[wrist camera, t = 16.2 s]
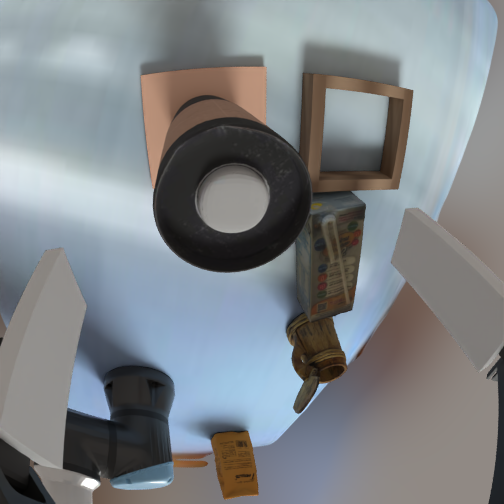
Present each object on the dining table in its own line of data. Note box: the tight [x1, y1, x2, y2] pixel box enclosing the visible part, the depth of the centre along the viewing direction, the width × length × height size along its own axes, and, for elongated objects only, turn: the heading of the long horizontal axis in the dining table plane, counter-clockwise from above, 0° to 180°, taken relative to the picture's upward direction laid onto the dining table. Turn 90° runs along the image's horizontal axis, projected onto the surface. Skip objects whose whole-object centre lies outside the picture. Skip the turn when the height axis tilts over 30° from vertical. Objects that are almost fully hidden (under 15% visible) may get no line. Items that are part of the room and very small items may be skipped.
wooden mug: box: [286, 313, 347, 414], centre depth 45 cm, size 9×14×18 cm, turn 65°
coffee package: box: [211, 431, 258, 499], centre depth 71 cm, size 10×12×22 cm
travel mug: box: [153, 95, 313, 273], centre depth 21 cm, size 8×8×20 cm
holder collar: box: [299, 73, 413, 193], centre depth 32 cm, size 14×14×3 cm
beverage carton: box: [296, 191, 366, 323], centre depth 41 cm, size 8×19×7 cm, turn 6°
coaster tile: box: [141, 67, 266, 189], centre depth 30 cm, size 13×13×1 cm
